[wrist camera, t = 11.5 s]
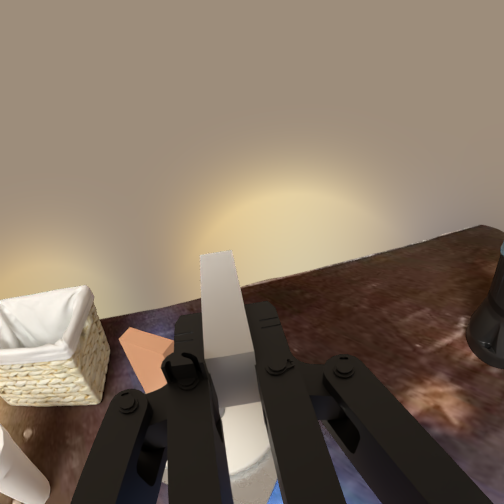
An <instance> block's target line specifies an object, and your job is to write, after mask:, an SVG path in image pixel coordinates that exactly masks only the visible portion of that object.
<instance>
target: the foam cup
mask: <svg viewBox="0 0 504 504" xmlns="http://www.w3.org/2000/svg"><path fill="white" fill-rule="evenodd" d="M0 492H1V493H3V494H5V495H7V496H9V497H11V498H13V499H16V500H18V501H20V502H22V503H24V504H44V503H45V502H46V501H47V499H48V498H49V495H50V485H49V481H48V480H47V479H46V477H45V476H44V475H43V474H42V473H41V472H40V471H39V469H38V468H37V467H36V466H35V465H34V464H33V463H32V462H31V461H30V460H29V458H28V457H27V456H26V455H25V454H24V453H23V451H22V450H21V449H20V448H19V447H18V446H17V444H16V443H15V442H14V441H13V439H12V438H11V436H10V434H9V433H8V431H7V430H6V429H5V428H4V427H3V426H2V425H1V424H0Z"/></svg>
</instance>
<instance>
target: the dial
mask: <svg viewBox="0 0 504 504" xmlns="http://www.w3.org/2000/svg"><path fill="white" fill-rule="evenodd" d="M119 340H120V343H121V345H122V347H123V349H124V351H125V353H126V355H127V357H128V359H129V361H130V363H131V365H132V367H133V369H134V371H135V373H136V375H137V377H138V379H139V381H140V383H141V384H142V386H143V388H144V390H145V392H146V394H147V393H150V392H153V391H155V390H158V389H160V388H162V387H163V386H164V385H166V384H167V381H166V379H165V377H164V374H163V372H162V370H161V364H162V361H163V360H164V359H165V358H166V357H167V356H168V355H170V354H171V353H173V352H174V341H173V340H170V339H167V338H163V337H160V336H156V335H153V334H150V333H147V332H143V331H140V330H137V329H134V328H131V327H130V328H129V329H128V330H127V331H126V332H125V333H124V334H123V335H122V336H121V337H120V338H119ZM219 413H220V417H221V419H222V425H223V432H224V440H225V448H226V455H227V462H228V469H229V476H232V475H236V474H238V473H240V472H243V471H245V470H247V469H248V468H250V467H252V466H253V465H255V464H256V463H257V462H259V461H260V460H261V459H262V458H263V457H264V456H265V455H266V454H267V453H268V452H269V450H270V449H271V448H270V443H269V439H268V434H267V430H266V425H265V424H264V417H263V410H262V404H261V402H255V403H249V404H243V405H237V406H231V407H224V408H220V407H219ZM166 467H167V468H168V466H167V463H166Z"/></svg>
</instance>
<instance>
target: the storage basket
mask: <svg viewBox="0 0 504 504" xmlns="http://www.w3.org/2000/svg"><path fill="white" fill-rule="evenodd" d="M93 301H94V295H93V293H92V292H91V290H90V288H89V287H88V286H87V285H82V286H77V287H69V288H63V289H58V290H52V291H47V292H42V293H37V294H31V295H26V296H20V297H13V298H7V299H2V300H0V396H1V397H2V398H3V399H4V400H5V401H6V402H7V403H8V404H10V405H17V406H37V407H39V406H75V405H94V404H95V405H96V404H99V403H100V402H101V400H102V395H103V390H104V383H105V379H106V376H105V374H106V373H107V369H108V365H107V364H108V362H109V355H110V346H109V344H108V341H107V339H106V336H105V332H104V330H103V327H102V326H101V322H100V320H99V317H98V315H97V312H96V307H95V305H94V302H93Z"/></svg>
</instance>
